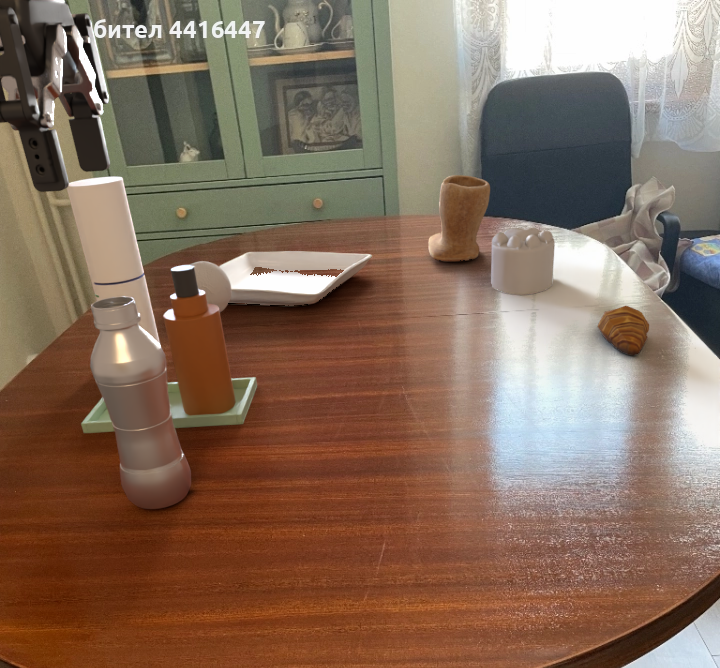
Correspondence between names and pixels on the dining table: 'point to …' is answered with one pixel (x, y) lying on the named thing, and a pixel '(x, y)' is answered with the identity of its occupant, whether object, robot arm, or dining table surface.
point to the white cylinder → (213, 283)
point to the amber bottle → (198, 347)
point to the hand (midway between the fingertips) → (76, 179)
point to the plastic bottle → (138, 405)
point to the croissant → (625, 329)
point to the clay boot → (459, 218)
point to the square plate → (288, 276)
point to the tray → (243, 396)
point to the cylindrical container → (111, 243)
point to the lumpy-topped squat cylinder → (522, 261)
